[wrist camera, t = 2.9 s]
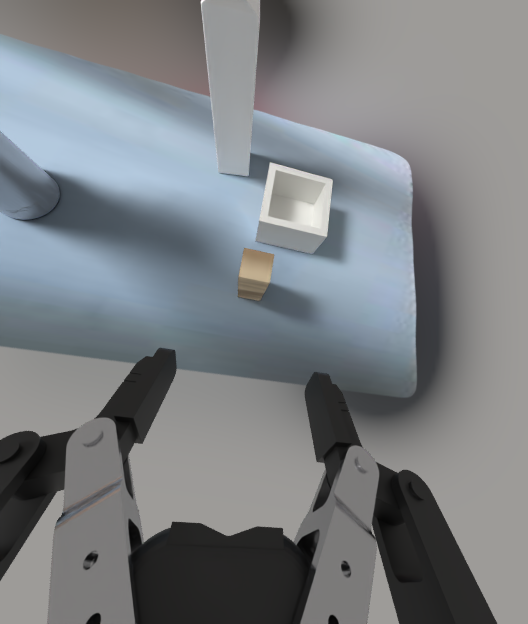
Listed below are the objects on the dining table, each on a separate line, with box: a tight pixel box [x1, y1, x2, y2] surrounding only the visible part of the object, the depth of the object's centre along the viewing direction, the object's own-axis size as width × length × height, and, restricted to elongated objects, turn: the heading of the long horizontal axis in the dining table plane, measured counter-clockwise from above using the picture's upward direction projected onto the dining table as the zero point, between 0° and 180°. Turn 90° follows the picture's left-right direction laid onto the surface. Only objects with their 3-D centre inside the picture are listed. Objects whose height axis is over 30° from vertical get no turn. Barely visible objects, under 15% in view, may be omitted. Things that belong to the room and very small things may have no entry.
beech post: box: [238, 248, 274, 301], centre depth 29 cm, size 4×4×10 cm
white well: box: [256, 162, 333, 254], centre depth 34 cm, size 11×11×6 cm
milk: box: [201, 0, 260, 176], centre depth 27 cm, size 6×6×22 cm
